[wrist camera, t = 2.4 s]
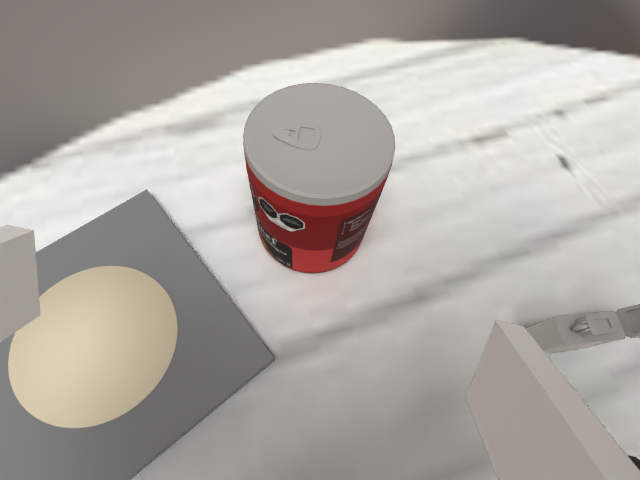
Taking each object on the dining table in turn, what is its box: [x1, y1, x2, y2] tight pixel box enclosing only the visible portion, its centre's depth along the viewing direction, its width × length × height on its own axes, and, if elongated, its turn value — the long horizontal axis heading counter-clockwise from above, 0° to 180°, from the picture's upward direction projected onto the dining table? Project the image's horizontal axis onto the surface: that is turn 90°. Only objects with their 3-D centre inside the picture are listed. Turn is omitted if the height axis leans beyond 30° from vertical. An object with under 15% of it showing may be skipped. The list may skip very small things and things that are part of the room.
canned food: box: [243, 83, 395, 273], centre depth 24 cm, size 8×8×11 cm
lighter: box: [525, 304, 640, 353], centre depth 24 cm, size 7×2×8 cm, turn 96°
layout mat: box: [0, 190, 275, 480], centre depth 24 cm, size 16×16×1 cm
